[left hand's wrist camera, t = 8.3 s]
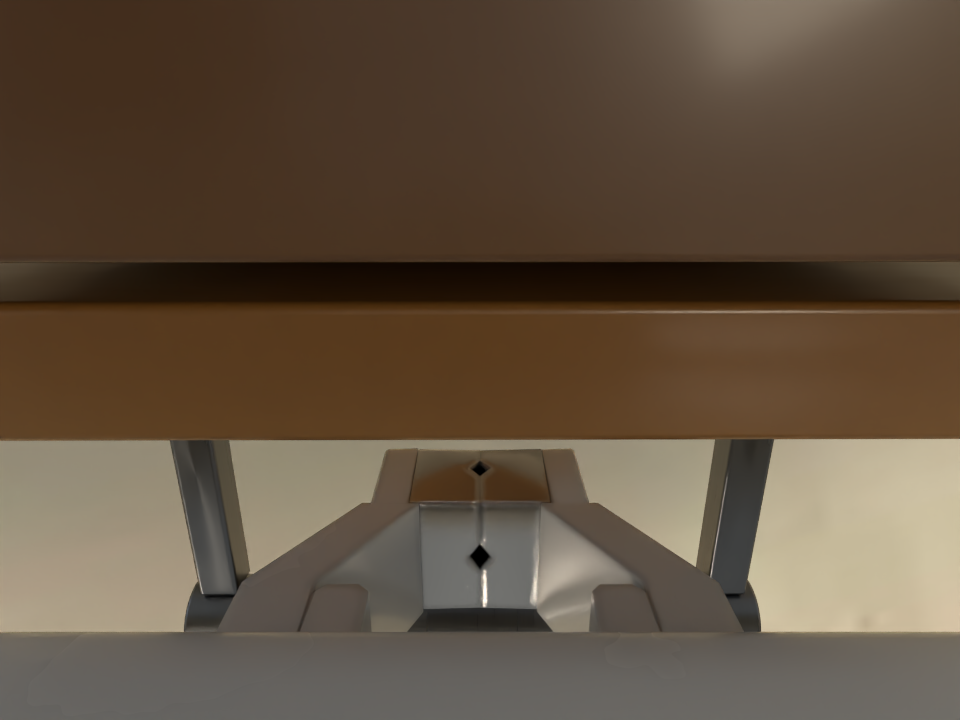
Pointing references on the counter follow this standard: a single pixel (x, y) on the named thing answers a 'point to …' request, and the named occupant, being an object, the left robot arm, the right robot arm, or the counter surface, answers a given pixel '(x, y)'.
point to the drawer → (477, 372)
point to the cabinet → (479, 131)
